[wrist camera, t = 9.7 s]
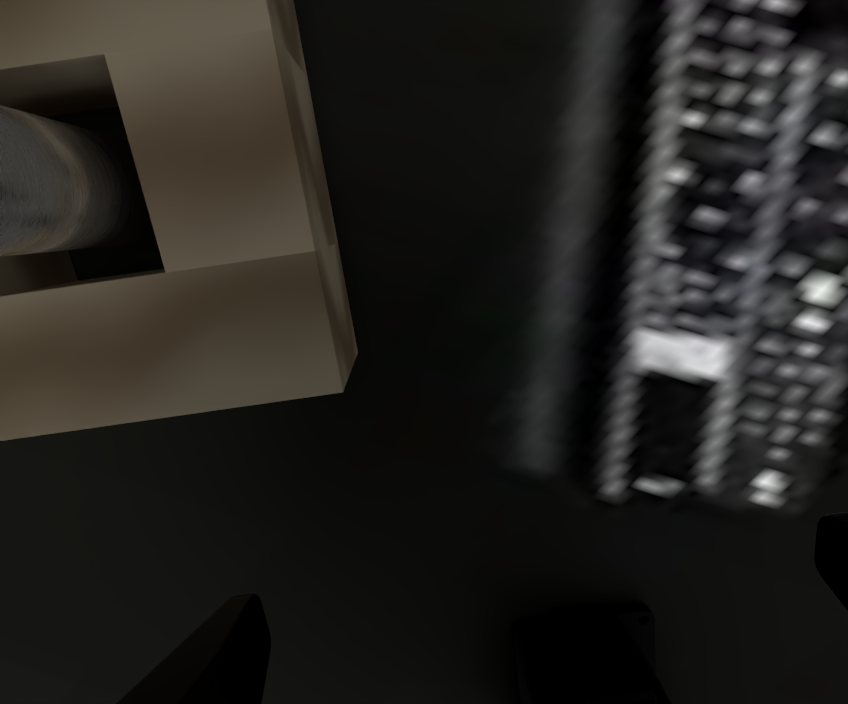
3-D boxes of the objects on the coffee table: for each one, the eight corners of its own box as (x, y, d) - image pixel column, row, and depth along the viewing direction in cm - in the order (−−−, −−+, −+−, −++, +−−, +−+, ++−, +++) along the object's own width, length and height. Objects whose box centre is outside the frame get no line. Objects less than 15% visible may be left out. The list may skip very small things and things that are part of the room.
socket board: (357, 352, 19) (342, 392, 15) (7, 402, 19) (-109, 456, 15) (280, -70, 15) (229, -184, 11) (-154, -5, 16) (-373, -91, 11)
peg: (190, 236, 18) (21, 250, 10) (96, 250, 18) (-144, 274, 10) (163, 133, 17) (-46, 61, 9) (64, 148, 17) (-228, 89, 9)
